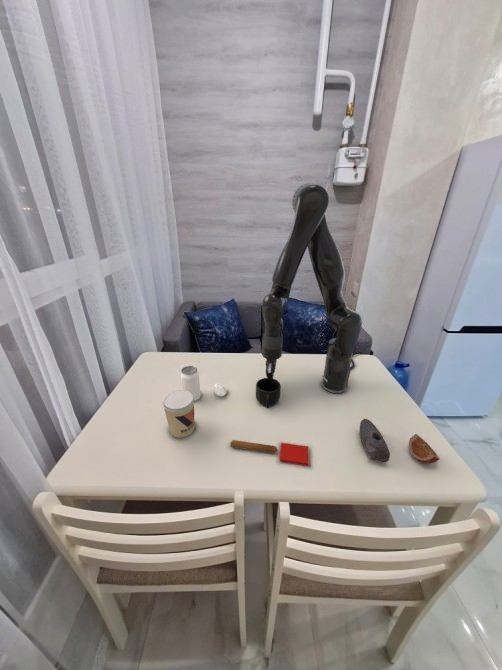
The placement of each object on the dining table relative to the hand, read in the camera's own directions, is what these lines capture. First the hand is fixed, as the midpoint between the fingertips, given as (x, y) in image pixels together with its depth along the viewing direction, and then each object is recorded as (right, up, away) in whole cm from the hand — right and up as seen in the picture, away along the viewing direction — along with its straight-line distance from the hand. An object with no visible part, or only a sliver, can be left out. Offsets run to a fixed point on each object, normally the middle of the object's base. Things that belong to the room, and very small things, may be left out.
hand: (269, 382), depth 104 cm
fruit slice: (+42, -17, -28) cm, 53 cm away
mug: (-1, -6, -7) cm, 9 cm away
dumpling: (-19, -4, -3) cm, 20 cm away
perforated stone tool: (+28, -15, -24) cm, 40 cm away
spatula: (-3, -15, -26) cm, 31 cm away
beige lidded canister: (-30, -12, -19) cm, 37 cm away
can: (-30, -5, -4) cm, 31 cm away
